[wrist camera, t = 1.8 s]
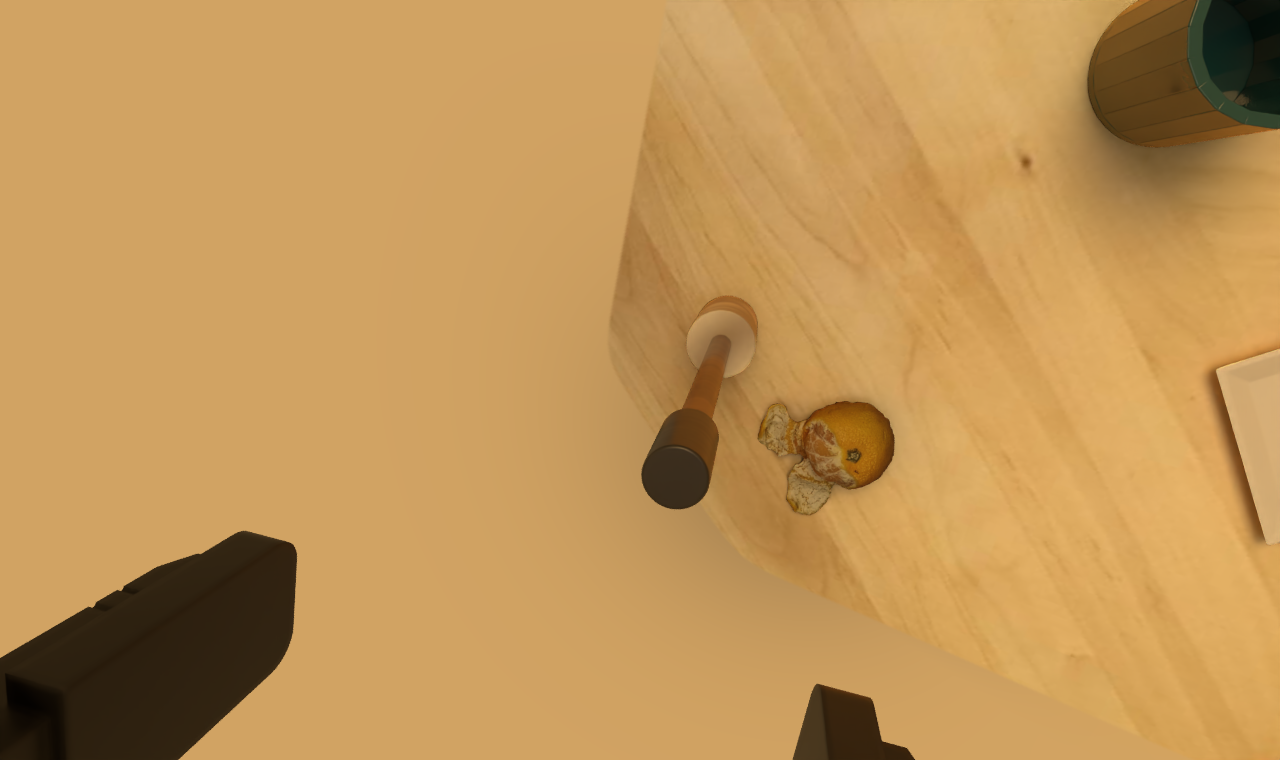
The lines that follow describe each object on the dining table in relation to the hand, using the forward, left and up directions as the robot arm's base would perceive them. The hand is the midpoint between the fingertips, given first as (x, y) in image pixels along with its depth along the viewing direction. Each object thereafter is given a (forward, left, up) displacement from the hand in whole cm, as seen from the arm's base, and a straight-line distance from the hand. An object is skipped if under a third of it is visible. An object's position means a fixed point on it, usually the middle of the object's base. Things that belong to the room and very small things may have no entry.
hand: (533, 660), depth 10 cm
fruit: (+11, -1, -38) cm, 40 cm away
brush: (+1, 0, -38) cm, 38 cm away
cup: (+7, +28, -38) cm, 48 cm away
